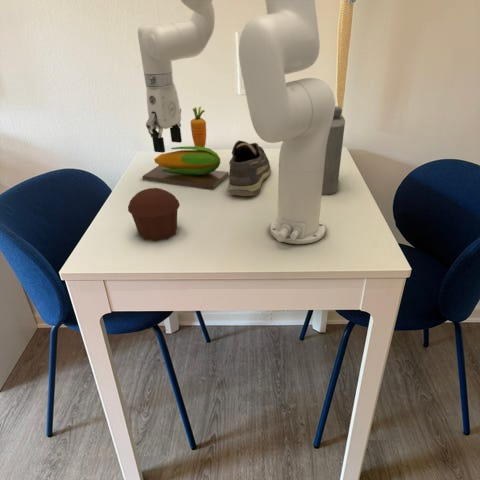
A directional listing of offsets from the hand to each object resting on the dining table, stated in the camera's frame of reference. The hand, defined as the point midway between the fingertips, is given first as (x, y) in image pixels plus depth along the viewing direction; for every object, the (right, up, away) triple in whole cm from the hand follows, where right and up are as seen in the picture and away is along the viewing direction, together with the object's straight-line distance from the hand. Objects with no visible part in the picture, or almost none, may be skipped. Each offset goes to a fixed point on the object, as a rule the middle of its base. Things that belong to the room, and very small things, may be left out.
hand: (168, 146), depth 127 cm
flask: (+45, -12, -3) cm, 47 cm away
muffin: (+1, -29, -22) cm, 37 cm away
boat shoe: (+24, -9, +2) cm, 26 cm away
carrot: (+8, +5, +20) cm, 22 cm away
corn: (+5, -6, +4) cm, 9 cm away
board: (+5, -8, +4) cm, 10 cm away
